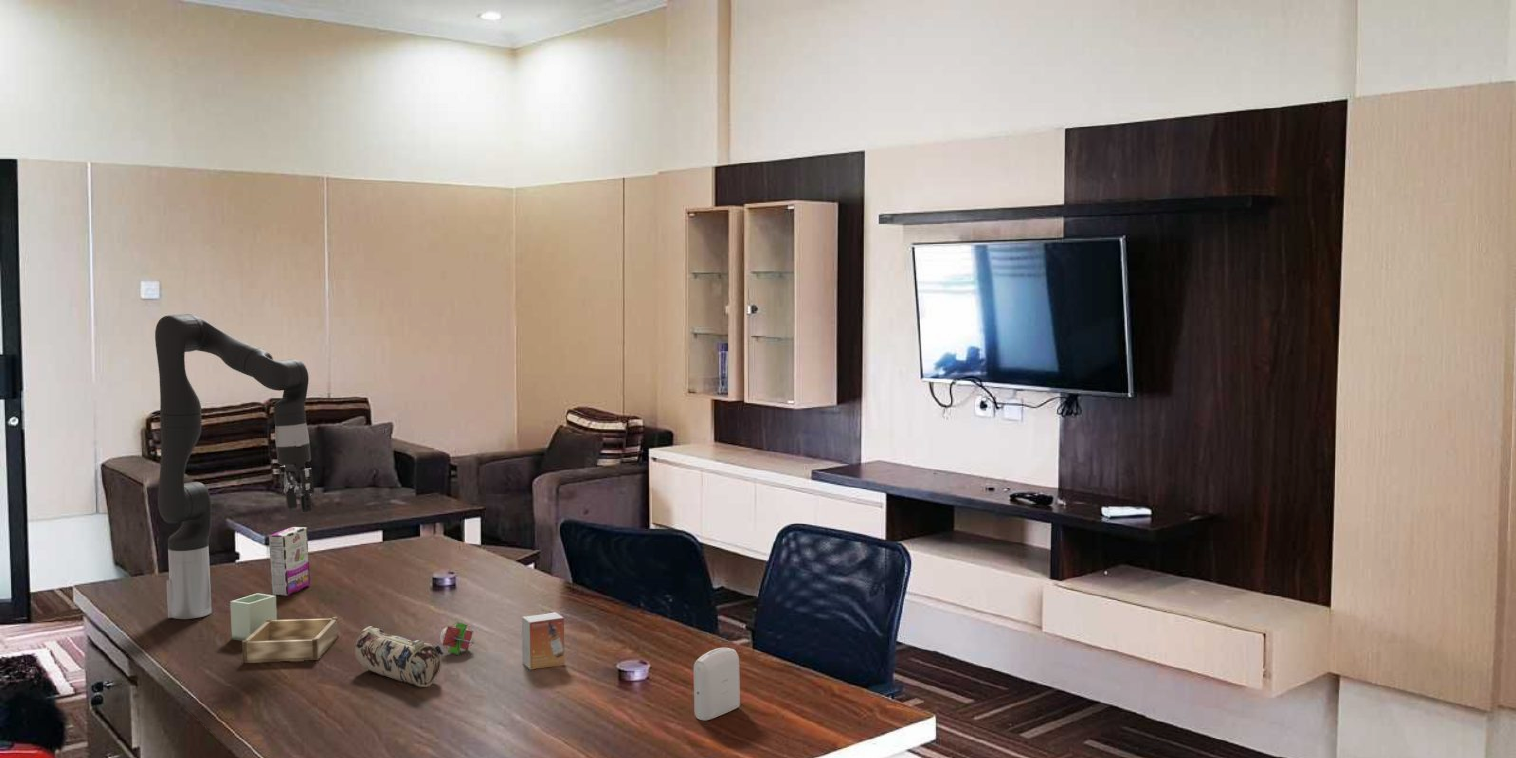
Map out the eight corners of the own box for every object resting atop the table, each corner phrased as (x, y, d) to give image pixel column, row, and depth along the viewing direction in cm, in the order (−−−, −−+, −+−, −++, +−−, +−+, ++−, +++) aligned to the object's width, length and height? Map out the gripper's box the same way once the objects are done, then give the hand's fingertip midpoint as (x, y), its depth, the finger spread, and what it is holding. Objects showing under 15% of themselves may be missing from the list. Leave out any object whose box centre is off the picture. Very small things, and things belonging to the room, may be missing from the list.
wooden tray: (242, 663, 272) (241, 641, 272) (268, 639, 290) (267, 619, 290) (317, 660, 273) (316, 639, 273) (338, 637, 291) (337, 616, 291)
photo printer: (707, 722, 233) (706, 658, 232) (690, 717, 236) (689, 654, 235) (743, 708, 241) (742, 645, 240) (726, 703, 244) (726, 641, 243)
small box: (529, 670, 265) (528, 622, 264) (522, 663, 270) (520, 616, 269) (565, 665, 269) (564, 617, 268) (557, 658, 274) (556, 611, 273)
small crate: (231, 639, 290) (230, 601, 290) (258, 630, 298) (257, 593, 297) (250, 642, 288) (248, 604, 287) (277, 633, 295) (275, 595, 294)
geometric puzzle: (470, 634, 285) (450, 611, 281) (486, 640, 280) (467, 617, 276) (448, 658, 281) (428, 635, 277) (464, 665, 276) (444, 641, 272)
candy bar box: (294, 585, 341) (291, 526, 340) (310, 586, 340) (308, 526, 339) (270, 595, 330) (267, 534, 329) (287, 596, 329) (284, 535, 328)
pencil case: (446, 682, 258) (445, 636, 258) (411, 693, 252) (410, 646, 251) (385, 662, 272) (383, 618, 271) (351, 672, 266) (349, 627, 265)
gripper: (265, 443, 300) (272, 510, 302) (289, 446, 290) (295, 515, 291) (296, 439, 305) (302, 504, 307) (320, 442, 295) (326, 509, 296)
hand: (299, 509), depth 299 cm, fingers open, 8 cm apart
